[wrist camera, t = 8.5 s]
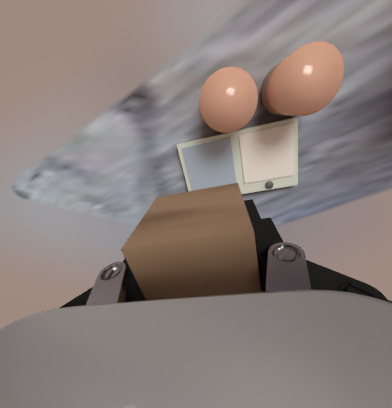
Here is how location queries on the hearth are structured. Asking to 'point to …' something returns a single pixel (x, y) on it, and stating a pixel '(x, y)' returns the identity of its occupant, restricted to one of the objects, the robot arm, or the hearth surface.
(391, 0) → the hearth surface
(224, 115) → the egg
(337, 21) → the hearth surface
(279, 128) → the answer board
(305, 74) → the peach egg shape
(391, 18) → the hearth surface
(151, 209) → the brown cube
